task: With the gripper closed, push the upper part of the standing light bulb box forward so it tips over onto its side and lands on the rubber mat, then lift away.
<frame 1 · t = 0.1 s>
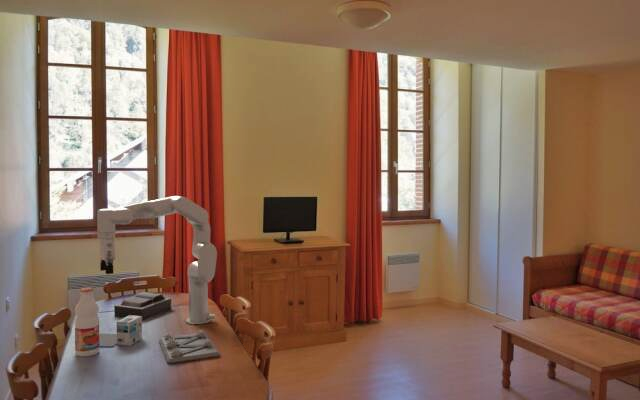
hand: (106, 272, 225), 31 cm above the table, tool pointing down, fingers open, 9 cm apart
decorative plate: (188, 350, 213), on the table
fruit juice: (87, 353, 207), on the table
light bulb box: (129, 342, 222), on the table
bible: (143, 313, 269), on the table
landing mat: (106, 340, 223), on the table
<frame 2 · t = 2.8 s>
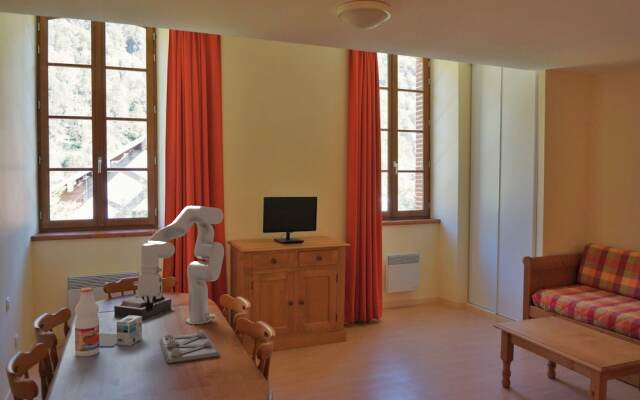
hand: (149, 310, 220), 15 cm above the table, tool pointing down, fingers closed
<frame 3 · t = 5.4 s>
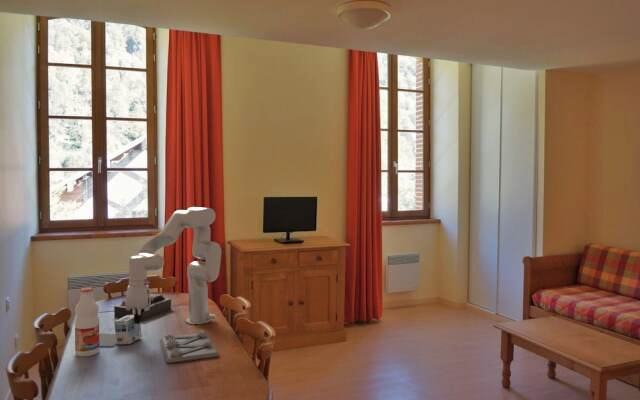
hand: (137, 322, 221), 9 cm above the table, tool pointing down, fingers closed
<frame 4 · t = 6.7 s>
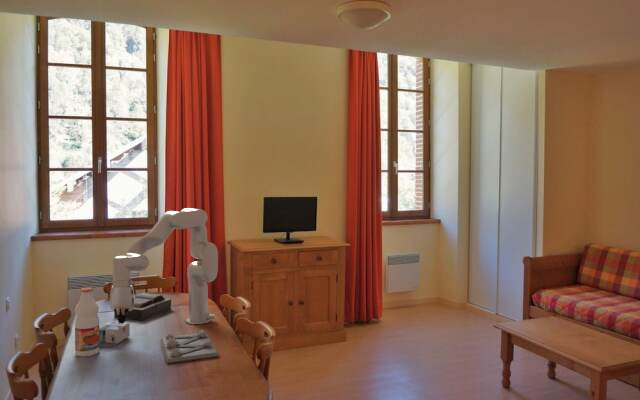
hand: (122, 322, 222), 9 cm above the table, tool pointing down, fingers closed
light bulb box: (124, 333, 222), point 4 cm above the table, touching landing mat
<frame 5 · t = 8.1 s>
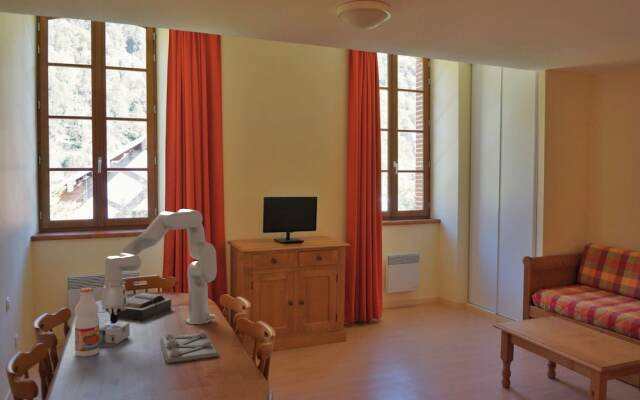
hand: (114, 322, 222), 9 cm above the table, tool pointing down, fingers closed
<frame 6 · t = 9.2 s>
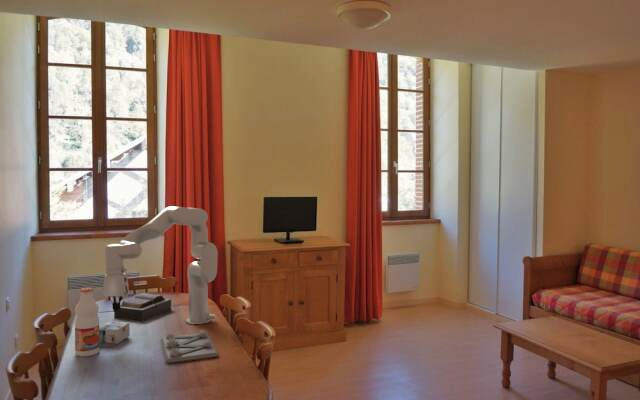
hand: (116, 310, 222), 14 cm above the table, tool pointing down, fingers closed
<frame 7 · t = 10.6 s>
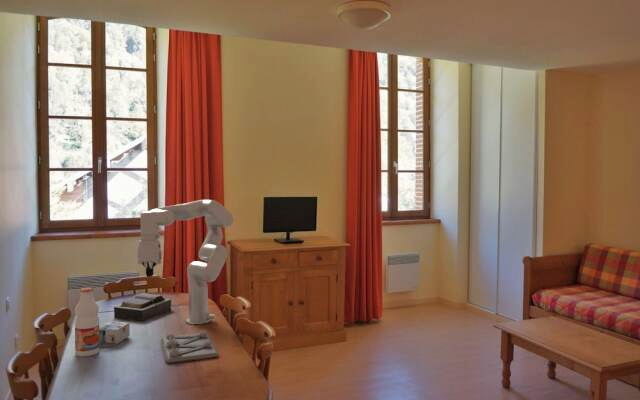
hand: (149, 276, 227), 29 cm above the table, tool pointing down, fingers closed
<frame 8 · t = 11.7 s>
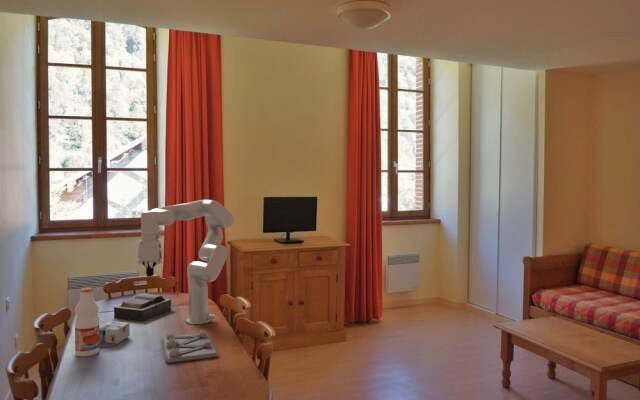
hand: (149, 275, 227), 29 cm above the table, tool pointing down, fingers closed
at the end: light bulb box tilted 89°; light bulb box touching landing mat; light bulb box 8.4 cm from the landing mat (horizontally) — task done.
